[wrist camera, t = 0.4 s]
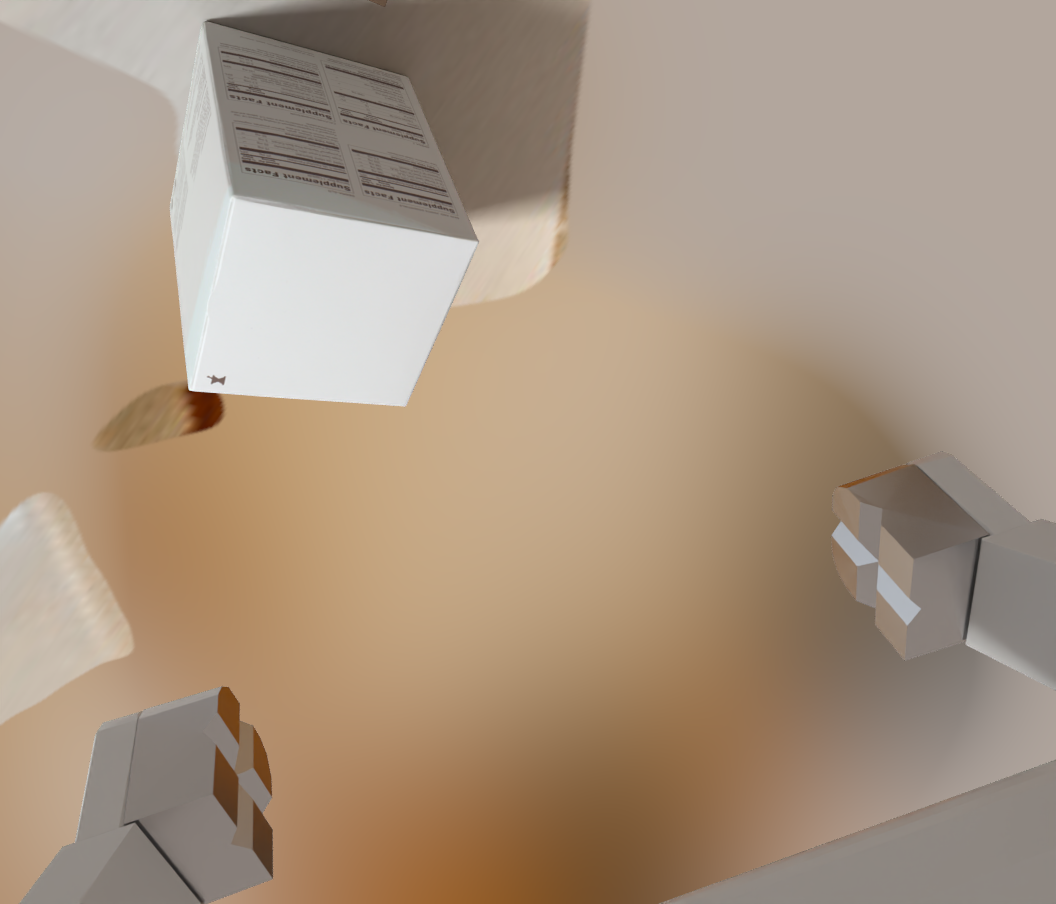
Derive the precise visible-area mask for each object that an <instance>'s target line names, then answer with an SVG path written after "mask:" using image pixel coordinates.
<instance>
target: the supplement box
mask: <svg viewBox="0 0 1056 904" xmlns="http://www.w3.org/2000/svg"><path fill="white" fill-rule="evenodd" d="M170 215H171V225H172V234H173V243H174V253H175V262H176V271H177V272H176V273H177V282H178V292H179V302H180V312H181V322H182V332H183V342H184V351H185V360H186V369H187V378H188V387H189V390H190V391H198V392H212V393H226V394H238V395H251V396H264V397H278V398H292V399H293V398H294V399H309V400H322V401H337V402H351V403H365V404H380V405H393V406H406V405H407V403H408V400H409V398H410V396H411V394H412V392H413V390H414V387H415V385H416V383H417V381H418V378H419V376H420V374H421V372H422V369H423V367H424V365H425V363H426V360H427V358H428V356H429V354H430V352H431V349H432V347H433V345H434V343H435V341H436V338H437V336H438V334H439V332H440V329H441V327H442V325H443V323H444V321H445V318H446V316H447V314H448V311H449V309H450V307H451V305H452V303H453V300H454V298H455V296H456V294H457V291H458V289H459V287H460V285H461V282H462V280H463V278H464V275H465V273H466V271H467V269H468V266H469V264H470V262H471V259H472V257H473V255H474V252H475V250H476V248H477V245H478V243H479V241H478V239H477V236H476V234H475V232H474V230H473V227H472V225H471V223H470V220H469V218H468V216H467V213H466V211H465V209H464V206H463V204H462V202H461V200H460V197H459V195H458V193H457V190H456V188H455V186H454V183H453V181H452V179H451V176H450V174H449V171H448V169H447V167H446V164H445V162H444V160H443V157H442V155H441V153H440V151H439V148H438V146H437V143H436V141H435V139H434V137H433V134H432V132H431V129H430V127H429V125H428V122H427V120H426V118H425V115H424V113H423V110H422V108H421V106H420V103H419V101H418V99H417V96H416V94H415V92H414V89H413V87H412V84H411V82H410V80H409V78H408V77H406V76H403V75H399V74H396V73H392V72H389V71H385V70H382V69H378V68H375V67H371V66H367V65H364V64H360V63H357V62H353V61H349V60H346V59H342V58H339V57H335V56H331V55H328V54H324V53H321V52H317V51H313V50H310V49H306V48H302V47H299V46H295V45H292V44H288V43H284V42H281V41H277V40H273V39H270V38H266V37H262V36H259V35H255V34H252V33H248V32H244V31H241V30H237V29H233V28H229V27H226V26H222V25H218V24H215V23H211V22H204V23H203V25H202V27H201V31H200V36H199V41H198V46H197V52H196V58H195V64H194V70H193V76H192V81H191V87H190V93H189V99H188V104H187V110H186V116H185V122H184V128H183V134H182V139H181V145H180V151H179V157H178V163H177V169H176V175H175V181H174V186H173V193H172V198H171V203H170Z"/></svg>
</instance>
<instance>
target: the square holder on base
mask: <svg viewBox="0 0 1056 904" xmlns="http://www.w3.org/2000/svg"><path fill="white" fill-rule="evenodd" d="M369 1H372V2H374V3H376V4H379V5H381V6H383V7H385V5H386V3H387V0H369Z"/></svg>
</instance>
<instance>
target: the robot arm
mask: <svg viewBox="0 0 1056 904" xmlns="http://www.w3.org/2000/svg"><path fill="white" fill-rule="evenodd" d="M832 511H833V512H834V513H835V514H836V516H837V517H838V518H839V519H840V520H841V522H840V524H839V525H838V526H837V528H836V529H835V531H834V533H833V534H832V555H833V559H834V562H835V565H836V568H837V572H838V574H839V576H840V578H841V579H842V581H843V583H844V585H845V587H846V588H847V589H848V591H849V592H850V593H851V595H852V596H853V597H854V599H855V600H856V601H858V602H861V603H863V604H866V605H868V606H871V607H873V608H876V616H875V625H876V626H877V627H878V629H879V630H880V631H881V632H882V634H883V635H884V636H885V637H886V639H887V640H888V641H889V642H890V643H891V645H892V646H893V647H894V648H895V650H896V651H897V652H898V653H899V654H900V656H901V657H902V658H903V659H904V661H905V660H908V659H912V658H915V657H918V656H921V655H924V654H927V653H931V652H933V651H937V650H940V649H943V648H946V647H950V646H953V645H956V644H959V643H962V642H965V641H966V645H967V646H969V647H971V648H973V649H975V650H977V651H979V652H981V653H983V654H985V655H987V656H989V657H991V658H993V659H995V660H997V661H999V662H1001V663H1003V664H1005V665H1006V666H1008V667H1010V668H1013V669H1015V670H1016V671H1019V672H1020V673H1022V674H1024V675H1026V676H1028V677H1030V678H1032V679H1034V680H1036V681H1038V682H1040V683H1042V684H1044V685H1046V686H1048V687H1050V688H1052V689H1054V690H1056V523H1054V522H1050V521H1047V520H1044V519H1040V520H1036V521H1033V522H1030V521H1029V520H1028V519H1027V518H1025V517H1024V516H1023V515H1022V514H1021V513H1020V512H1018V511H1017V510H1016V509H1015V508H1014V507H1012V506H1011V505H1010V504H1009V503H1008V502H1007V501H1005V500H1004V499H1003V498H1002V497H1001V496H1000V495H998V494H997V493H996V492H995V491H994V490H993V489H991V488H990V487H989V486H988V485H987V484H986V483H984V482H983V481H982V480H981V479H980V478H978V477H977V476H976V475H975V474H974V473H973V472H972V471H970V470H969V469H968V468H967V467H966V466H965V465H963V464H962V463H961V462H960V461H959V460H958V459H956V458H955V457H954V456H953V455H951V454H949V453H946V452H943V451H941V452H938V453H935V454H932V455H929V456H926V457H923V458H920V459H917V460H914V461H911V462H908V463H907V464H906V465H900V466H897V467H894V468H891V469H888V470H885V471H882V472H879V473H876V474H873V475H870V476H867V477H864V478H861V479H858V480H855V481H852V482H849V483H846V484H843V485H840V486H837V487H836V489H835V491H834V493H833V495H832ZM271 782H272V781H271V773H270V768H269V763H268V758H267V753H266V751H265V748H264V746H263V743H262V741H261V738H260V736H259V735H258V733H257V731H256V730H255V728H254V726H253V725H250V724H247V723H245V722H242V721H240V703H239V702H238V700H237V699H236V698H235V696H234V694H233V693H232V691H231V690H230V688H229V687H218V688H215V689H212V690H208V691H205V692H202V693H198V694H195V695H192V696H188V697H185V698H182V699H178V700H175V701H172V702H168V703H165V704H161V705H158V706H155V707H151V708H148V709H145V710H143V711H141V712H138V713H134V714H131V715H128V716H124V717H121V718H118V719H114V720H111V721H107V722H104V723H103V724H102V725H101V727H100V728H99V730H98V731H97V733H96V735H95V739H94V744H93V749H92V755H91V760H90V766H89V771H88V776H87V782H86V787H85V792H84V797H83V803H82V808H81V813H80V818H79V824H78V829H77V834H76V840H75V843H72V844H69V845H67V846H64V847H62V848H61V850H60V851H59V852H58V853H57V855H56V856H55V857H54V859H53V860H52V861H51V863H50V864H49V865H48V867H47V868H46V869H45V870H44V872H43V873H42V874H41V876H40V877H39V878H38V880H37V881H36V882H35V884H34V885H33V886H32V888H31V889H30V890H29V892H28V893H27V894H26V896H25V897H24V898H23V899H22V901H21V902H20V903H19V904H208V903H210V902H213V901H216V900H218V899H221V898H224V897H226V896H229V895H232V894H234V893H237V892H240V891H242V890H245V889H248V888H250V887H253V886H256V885H258V884H261V883H264V882H266V881H269V880H272V879H273V834H272V833H273V830H272V828H271V826H270V825H269V823H268V822H267V820H266V819H265V817H264V816H263V812H264V810H265V808H266V807H267V805H268V804H269V802H270V800H271V798H272V783H271ZM660 904H1056V760H1054V761H1051V762H1048V763H1046V764H1042V765H1040V766H1037V767H1034V768H1031V769H1029V770H1026V771H1023V772H1020V773H1018V774H1015V775H1012V776H1010V777H1007V778H1004V779H1001V780H999V781H995V782H993V783H990V784H987V785H985V786H982V787H979V788H976V789H974V790H971V791H968V792H965V793H962V794H960V795H957V796H954V797H951V798H949V799H946V800H943V801H940V802H938V803H935V804H932V805H929V806H927V807H924V808H921V809H918V810H916V811H913V812H910V813H908V814H905V815H902V816H899V817H896V818H894V819H891V820H888V821H886V822H883V823H880V824H877V825H874V826H872V827H869V828H866V829H864V830H861V831H858V832H855V833H853V834H850V835H847V836H844V837H841V838H839V839H836V840H833V841H831V842H828V843H825V844H822V845H819V846H817V847H814V848H811V849H808V850H806V851H803V852H800V853H797V854H795V855H792V856H789V857H786V858H783V859H781V860H778V861H775V862H772V863H770V864H767V865H764V866H761V867H759V868H756V869H753V870H750V871H748V872H745V873H742V874H739V875H737V876H734V877H731V878H728V879H726V880H723V881H720V882H717V883H715V884H712V885H709V886H706V887H704V888H701V889H698V890H695V891H693V892H690V893H687V894H684V895H682V896H679V897H676V898H674V899H671V900H668V901H665V902H663V903H660Z"/></svg>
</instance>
